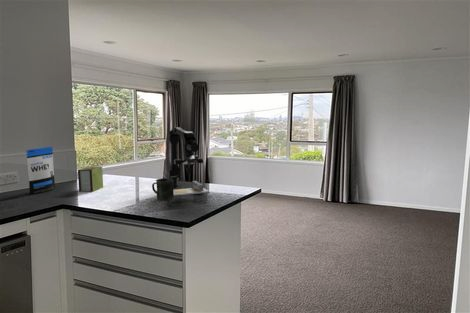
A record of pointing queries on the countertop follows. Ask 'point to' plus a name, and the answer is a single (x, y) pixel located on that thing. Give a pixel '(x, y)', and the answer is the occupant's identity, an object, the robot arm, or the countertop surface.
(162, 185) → the mug
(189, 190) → the label panel
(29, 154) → the protein powder
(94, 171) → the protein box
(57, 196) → the countertop surface
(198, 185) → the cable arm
